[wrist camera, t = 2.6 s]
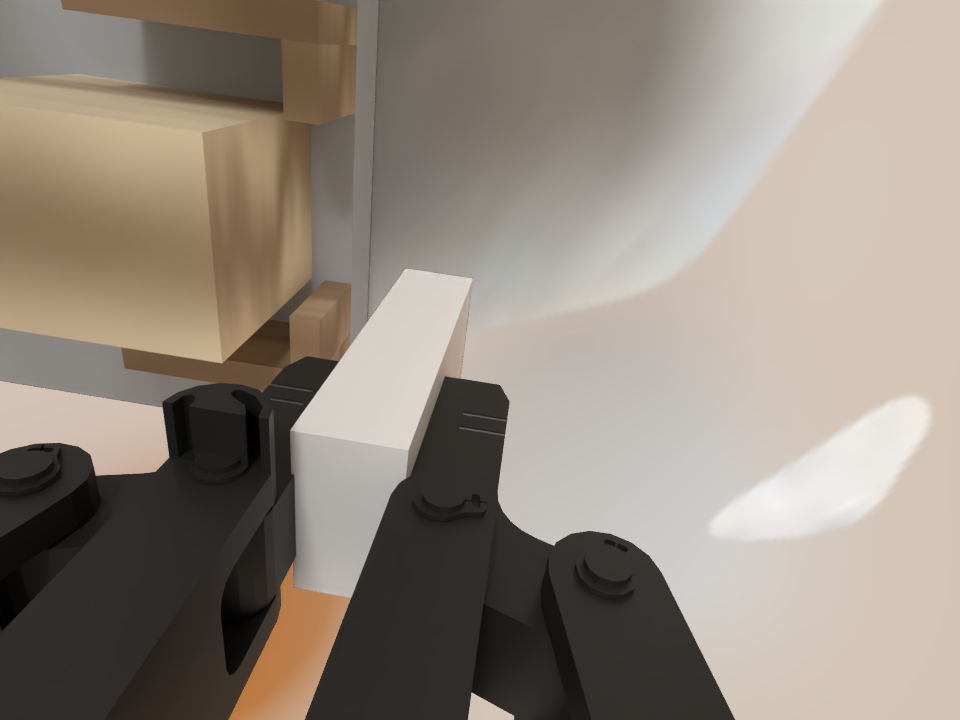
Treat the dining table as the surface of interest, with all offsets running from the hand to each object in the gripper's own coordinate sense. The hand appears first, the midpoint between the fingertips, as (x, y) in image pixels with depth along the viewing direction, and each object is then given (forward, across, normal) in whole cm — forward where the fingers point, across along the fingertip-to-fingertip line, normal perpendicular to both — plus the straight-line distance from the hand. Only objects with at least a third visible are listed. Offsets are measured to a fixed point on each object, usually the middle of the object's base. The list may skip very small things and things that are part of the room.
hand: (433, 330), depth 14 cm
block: (+9, -10, 0) cm, 13 cm away
